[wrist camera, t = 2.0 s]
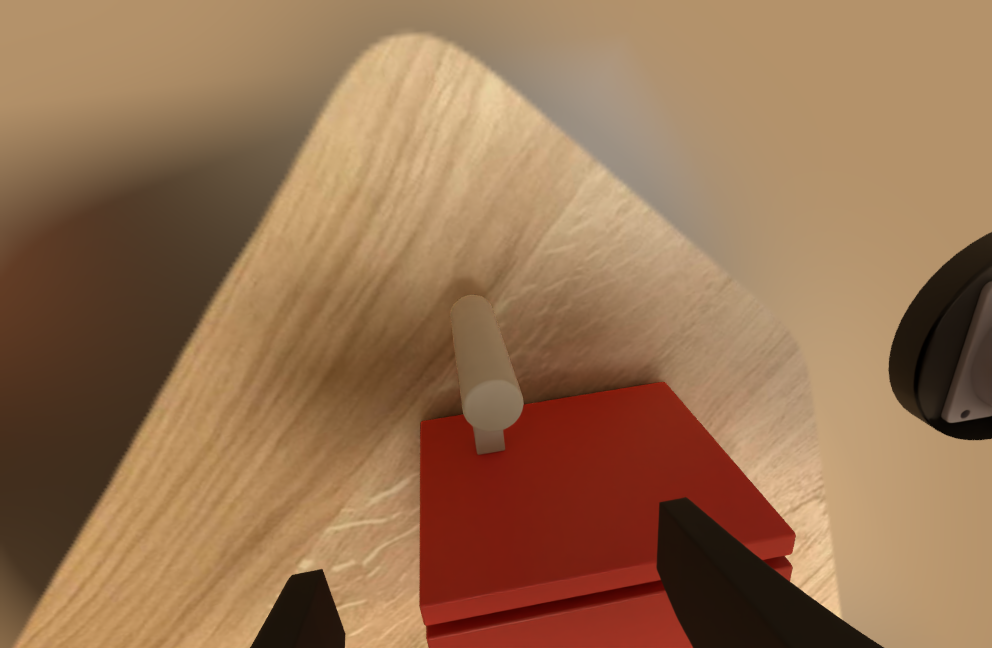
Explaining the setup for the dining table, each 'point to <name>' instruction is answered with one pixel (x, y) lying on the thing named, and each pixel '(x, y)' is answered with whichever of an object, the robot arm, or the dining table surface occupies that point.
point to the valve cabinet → (579, 621)
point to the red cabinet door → (561, 486)
